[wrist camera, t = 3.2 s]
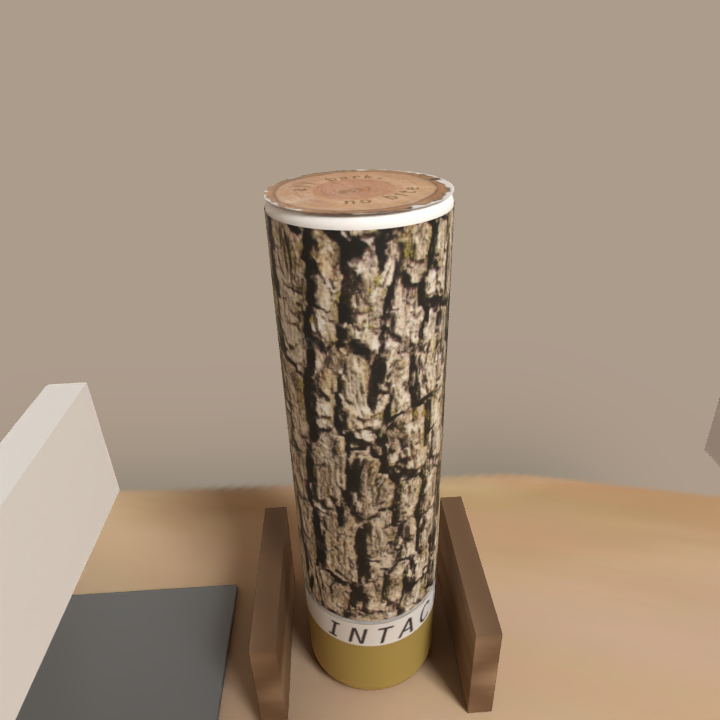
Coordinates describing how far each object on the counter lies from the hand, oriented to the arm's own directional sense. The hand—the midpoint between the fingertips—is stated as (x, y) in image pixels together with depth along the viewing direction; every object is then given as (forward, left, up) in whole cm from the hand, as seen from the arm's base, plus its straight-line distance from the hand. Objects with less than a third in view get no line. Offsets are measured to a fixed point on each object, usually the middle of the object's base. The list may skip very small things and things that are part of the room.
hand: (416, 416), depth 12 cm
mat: (-15, +9, -23) cm, 29 cm away
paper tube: (-1, +11, -23) cm, 26 cm away
